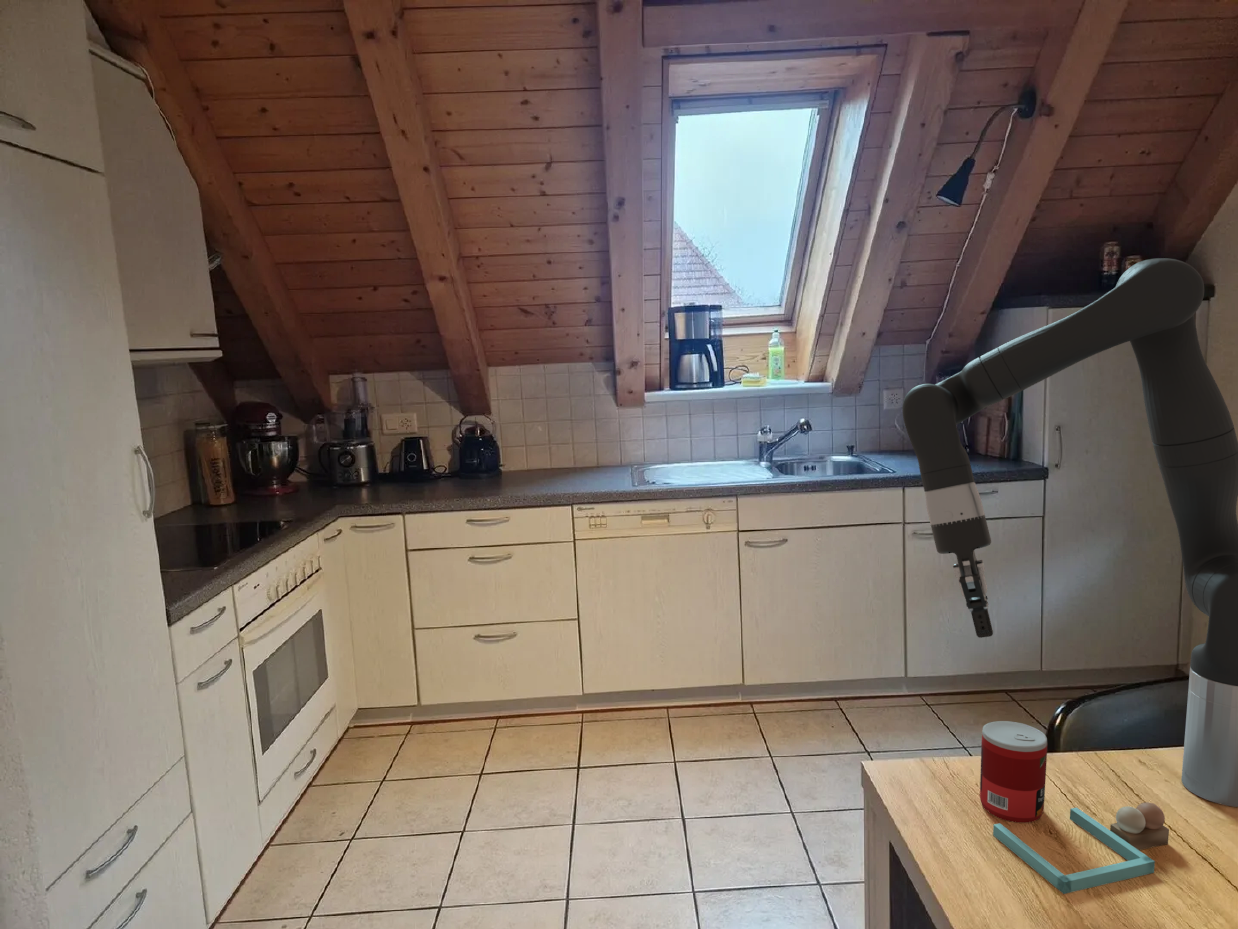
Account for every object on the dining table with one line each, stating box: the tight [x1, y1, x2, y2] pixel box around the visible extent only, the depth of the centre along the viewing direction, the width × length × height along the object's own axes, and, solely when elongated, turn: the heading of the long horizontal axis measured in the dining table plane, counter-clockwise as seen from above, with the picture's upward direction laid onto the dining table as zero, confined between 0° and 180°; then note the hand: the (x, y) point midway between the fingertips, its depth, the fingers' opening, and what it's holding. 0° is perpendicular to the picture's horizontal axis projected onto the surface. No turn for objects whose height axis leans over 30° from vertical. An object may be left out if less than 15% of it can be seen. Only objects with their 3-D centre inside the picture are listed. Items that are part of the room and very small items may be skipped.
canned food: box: [979, 720, 1048, 824], centre depth 112 cm, size 8×8×11 cm
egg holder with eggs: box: [1109, 801, 1170, 851], centre depth 105 cm, size 6×3×5 cm, turn 104°
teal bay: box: [992, 807, 1156, 895], centre depth 103 cm, size 13×12×2 cm
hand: (985, 636), depth 118 cm, fingers closed
